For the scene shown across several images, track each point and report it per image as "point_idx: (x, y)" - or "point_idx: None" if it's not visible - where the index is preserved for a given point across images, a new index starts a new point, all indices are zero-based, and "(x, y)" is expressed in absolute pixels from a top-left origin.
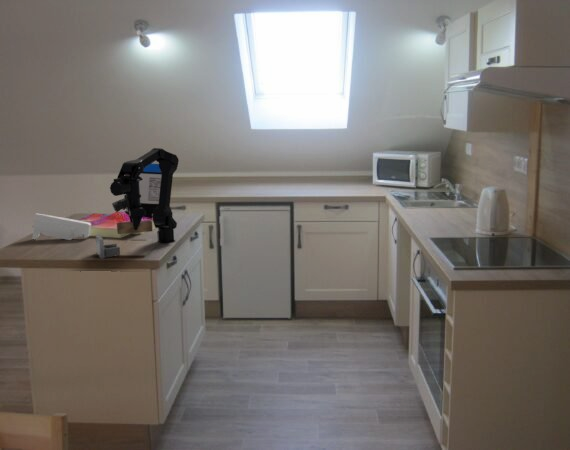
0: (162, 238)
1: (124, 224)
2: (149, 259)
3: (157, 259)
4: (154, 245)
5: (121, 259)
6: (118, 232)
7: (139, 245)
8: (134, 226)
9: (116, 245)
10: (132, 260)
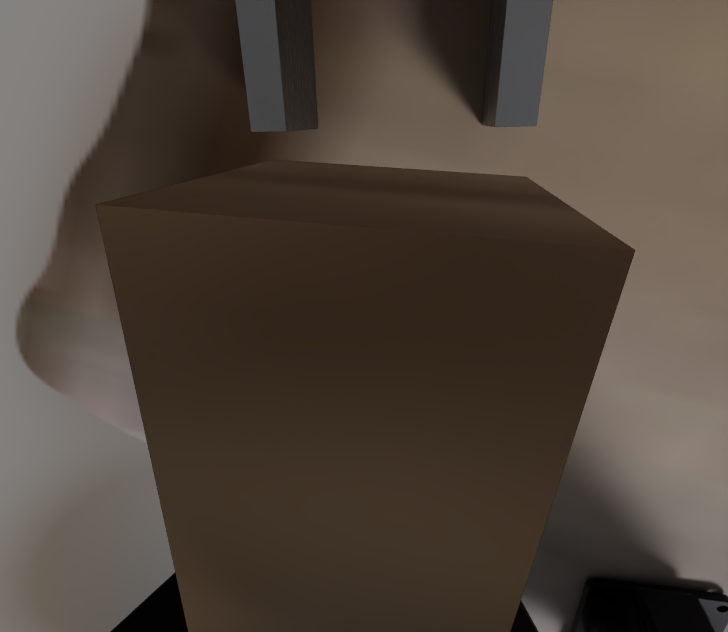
0: (628, 629)
1: (155, 453)
2: (86, 350)
3: (77, 398)
4: (551, 516)
5: (130, 114)
6: (258, 168)
7: (652, 421)
8: (172, 580)
9: (491, 124)
10: (74, 214)
